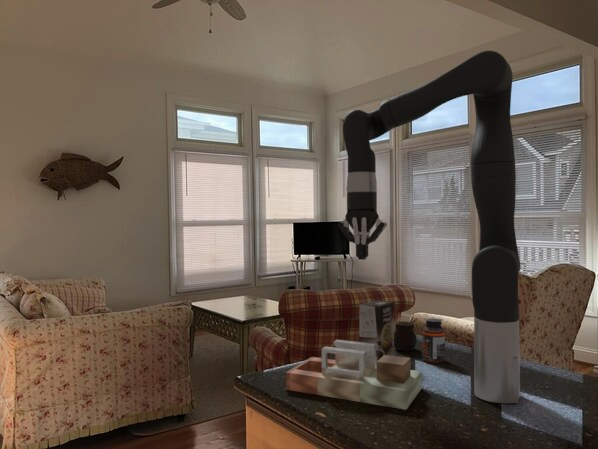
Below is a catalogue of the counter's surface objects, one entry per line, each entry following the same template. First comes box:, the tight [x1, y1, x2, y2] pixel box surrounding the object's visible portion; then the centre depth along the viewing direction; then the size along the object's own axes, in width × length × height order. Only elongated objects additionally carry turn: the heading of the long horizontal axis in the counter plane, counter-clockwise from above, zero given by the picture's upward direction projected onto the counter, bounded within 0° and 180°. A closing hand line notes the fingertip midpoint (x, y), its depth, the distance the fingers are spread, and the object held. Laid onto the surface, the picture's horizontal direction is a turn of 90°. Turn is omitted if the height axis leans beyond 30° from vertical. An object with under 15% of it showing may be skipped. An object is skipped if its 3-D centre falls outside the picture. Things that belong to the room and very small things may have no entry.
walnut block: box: [377, 355, 412, 384], centre depth 110 cm, size 6×6×4 cm
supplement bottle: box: [422, 318, 446, 364], centre depth 137 cm, size 6×6×11 cm
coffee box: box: [358, 299, 395, 365], centre depth 137 cm, size 9×6×16 cm
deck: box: [285, 356, 422, 411], centre depth 115 cm, size 28×14×4 cm, turn 64°
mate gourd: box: [394, 317, 418, 352], centre depth 149 cm, size 7×8×10 cm
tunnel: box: [321, 339, 376, 380], centre depth 115 cm, size 10×9×6 cm
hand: (362, 259), depth 126 cm, fingers closed
